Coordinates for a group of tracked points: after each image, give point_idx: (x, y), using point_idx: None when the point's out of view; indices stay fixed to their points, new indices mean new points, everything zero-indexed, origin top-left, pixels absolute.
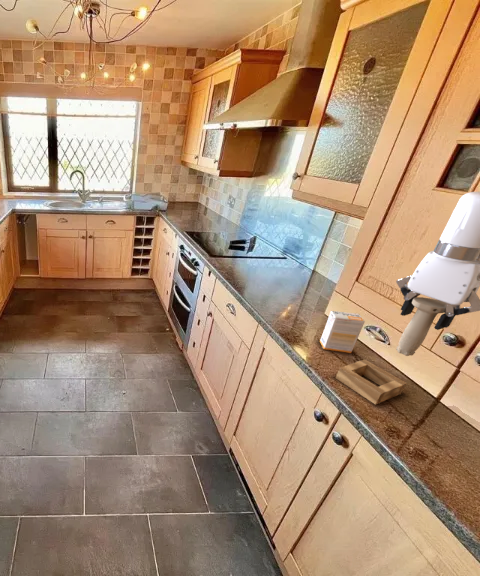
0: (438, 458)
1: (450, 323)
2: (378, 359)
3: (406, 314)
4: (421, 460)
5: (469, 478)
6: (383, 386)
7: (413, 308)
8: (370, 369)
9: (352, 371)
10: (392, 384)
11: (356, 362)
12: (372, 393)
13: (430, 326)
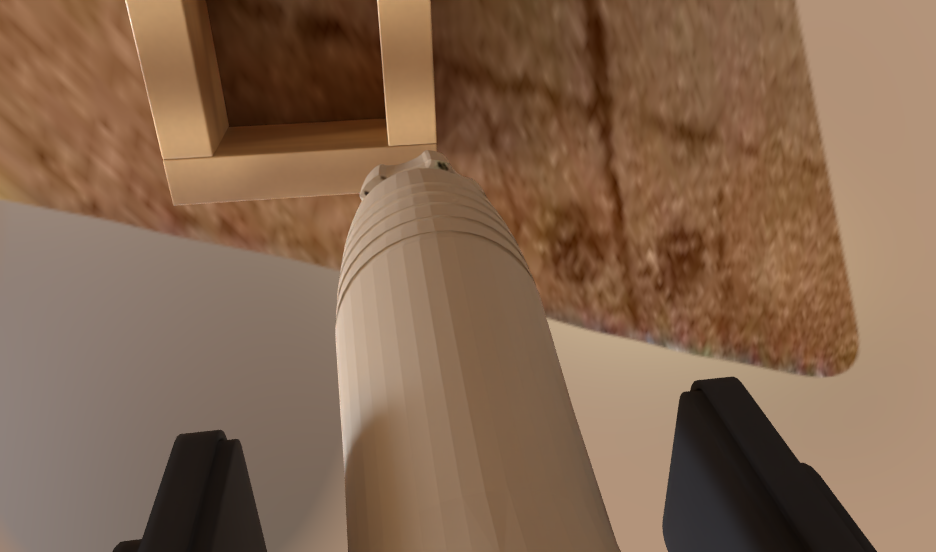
0: (727, 206)
1: (833, 500)
2: None
3: (261, 547)
4: (697, 278)
5: (820, 193)
6: (398, 110)
7: (217, 524)
8: None
9: (224, 160)
10: (401, 25)
11: (134, 27)
12: None
13: (571, 405)
